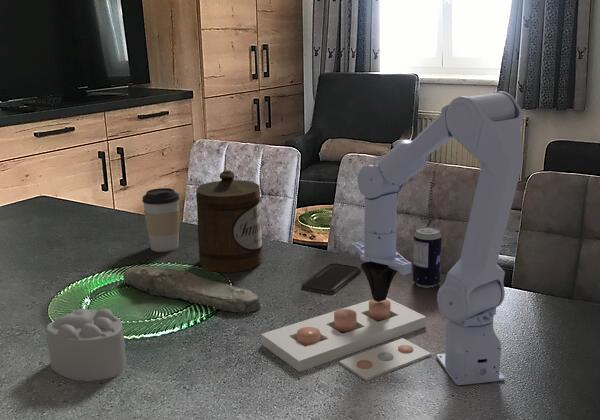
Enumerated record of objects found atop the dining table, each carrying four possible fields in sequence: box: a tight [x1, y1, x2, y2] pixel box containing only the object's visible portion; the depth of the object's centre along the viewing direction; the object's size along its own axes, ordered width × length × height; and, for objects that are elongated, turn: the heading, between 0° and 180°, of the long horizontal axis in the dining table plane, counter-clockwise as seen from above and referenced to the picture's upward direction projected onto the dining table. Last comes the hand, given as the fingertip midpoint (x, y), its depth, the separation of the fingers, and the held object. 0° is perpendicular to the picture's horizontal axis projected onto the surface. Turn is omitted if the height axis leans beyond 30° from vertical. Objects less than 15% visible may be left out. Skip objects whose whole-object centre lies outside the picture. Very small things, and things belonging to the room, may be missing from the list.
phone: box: [301, 262, 362, 295], centre depth 149 cm, size 8×1×15 cm
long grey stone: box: [123, 265, 261, 314], centre depth 142 cm, size 35×5×10 cm
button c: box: [297, 327, 320, 347], centre depth 118 cm, size 4×4×2 cm
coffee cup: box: [141, 187, 180, 253], centre depth 170 cm, size 9×9×15 cm
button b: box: [334, 308, 357, 332], centre depth 122 cm, size 4×4×2 cm
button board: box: [260, 297, 427, 373], centre depth 123 cm, size 28×12×2 cm, turn 124°
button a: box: [369, 298, 391, 321], centre depth 126 cm, size 4×4×2 cm
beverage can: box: [412, 226, 442, 289], centre depth 143 cm, size 6×6×12 cm
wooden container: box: [195, 170, 263, 273], centre depth 158 cm, size 15×15×22 cm
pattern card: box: [338, 337, 432, 382], centre depth 114 cm, size 14×7×1 cm, turn 124°
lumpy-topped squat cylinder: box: [45, 307, 128, 382], centre depth 114 cm, size 10×13×9 cm
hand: (379, 299), depth 126 cm, fingers closed
